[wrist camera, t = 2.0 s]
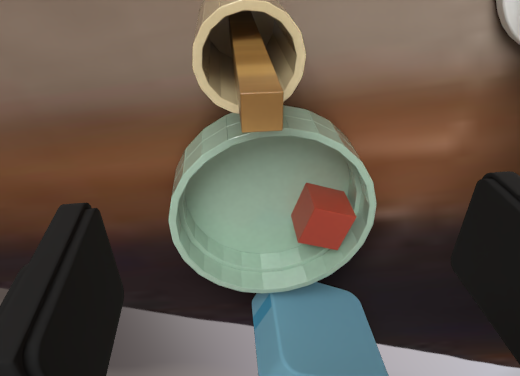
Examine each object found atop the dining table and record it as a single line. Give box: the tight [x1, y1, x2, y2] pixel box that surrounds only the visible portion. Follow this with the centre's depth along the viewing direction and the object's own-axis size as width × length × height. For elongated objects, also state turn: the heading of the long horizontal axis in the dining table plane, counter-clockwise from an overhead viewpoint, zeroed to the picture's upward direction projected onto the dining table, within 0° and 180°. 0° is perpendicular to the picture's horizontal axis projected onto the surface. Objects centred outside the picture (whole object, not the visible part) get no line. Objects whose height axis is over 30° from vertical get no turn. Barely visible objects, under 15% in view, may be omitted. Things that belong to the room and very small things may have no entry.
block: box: [291, 183, 356, 250], centre depth 36 cm, size 4×4×4 cm
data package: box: [252, 282, 388, 376], centre depth 40 cm, size 12×4×12 cm, turn 64°
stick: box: [229, 11, 284, 133], centre depth 21 cm, size 2×2×16 cm
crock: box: [192, 0, 306, 114], centre depth 24 cm, size 6×6×10 cm
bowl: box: [168, 105, 376, 294], centre depth 35 cm, size 17×17×5 cm
